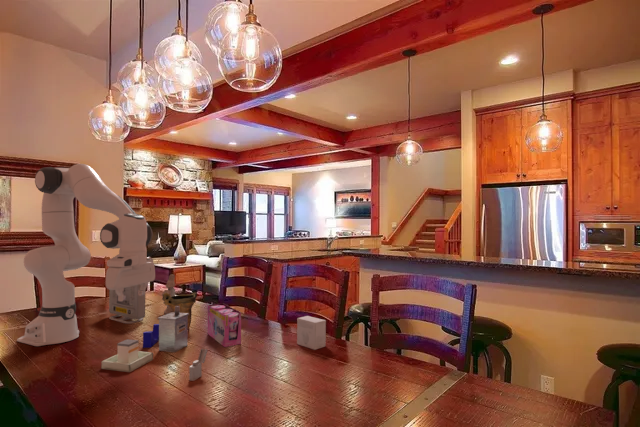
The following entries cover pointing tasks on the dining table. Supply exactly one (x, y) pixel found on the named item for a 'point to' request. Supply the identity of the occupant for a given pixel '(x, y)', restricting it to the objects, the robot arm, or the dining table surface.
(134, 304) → the network device
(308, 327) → the skincare box
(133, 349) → the block
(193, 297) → the pot
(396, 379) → the dining table surface
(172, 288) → the figurine
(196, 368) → the lighter
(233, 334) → the gum box
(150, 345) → the blue notched block
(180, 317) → the box
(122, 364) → the parts tray
